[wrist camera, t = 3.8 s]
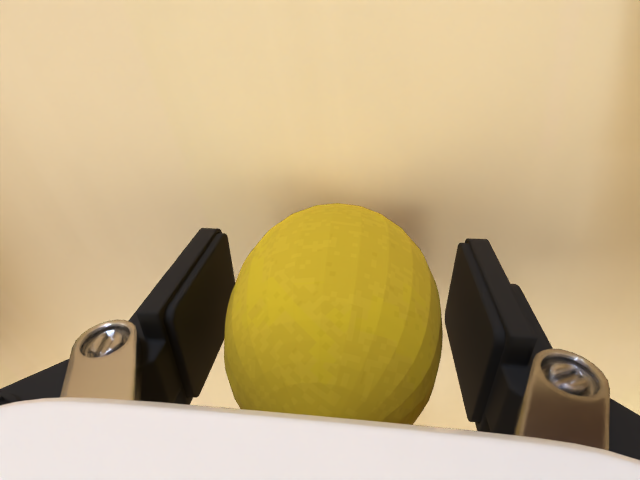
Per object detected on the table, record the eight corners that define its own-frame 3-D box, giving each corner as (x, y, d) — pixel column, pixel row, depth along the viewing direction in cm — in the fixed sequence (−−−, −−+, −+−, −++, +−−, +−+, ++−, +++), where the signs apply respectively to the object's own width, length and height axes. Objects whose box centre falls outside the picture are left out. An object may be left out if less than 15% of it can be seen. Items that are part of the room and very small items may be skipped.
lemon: (450, 193, 12) (544, 416, 6) (387, 314, 15) (401, 557, 9) (285, 142, 12) (179, 310, 5) (254, 275, 15) (159, 493, 8)
